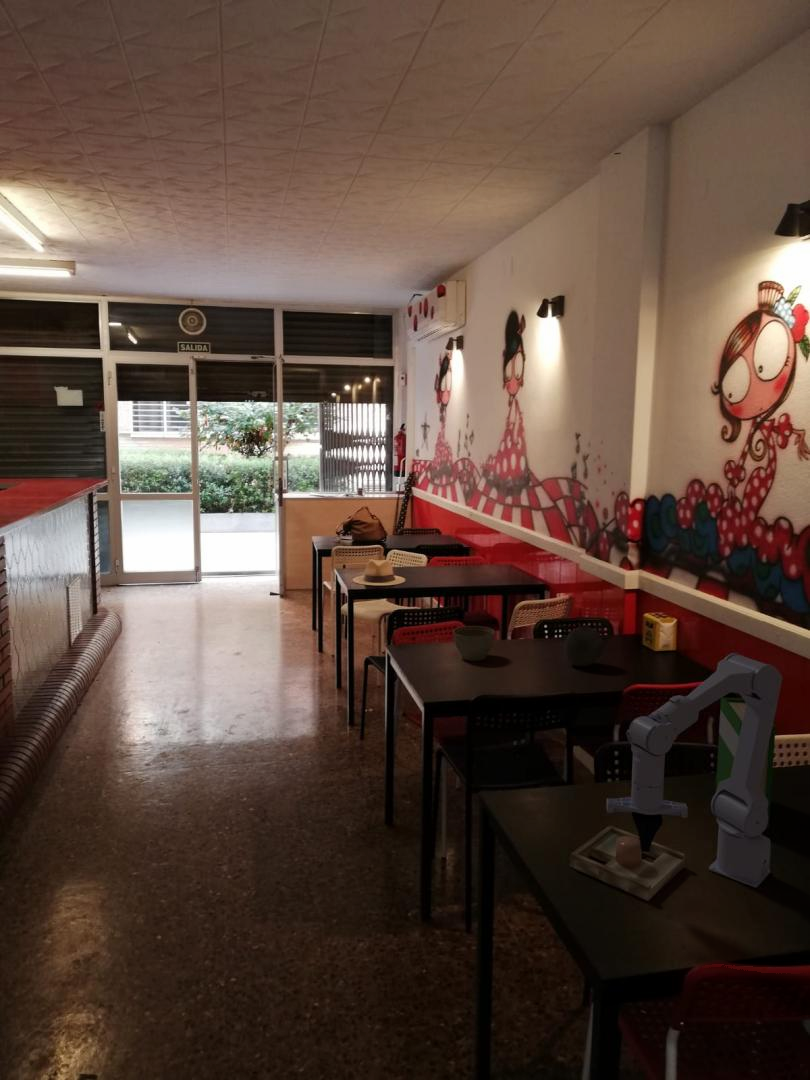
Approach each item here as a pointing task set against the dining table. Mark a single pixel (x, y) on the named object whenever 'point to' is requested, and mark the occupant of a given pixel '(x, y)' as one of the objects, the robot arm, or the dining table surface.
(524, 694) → the dining table surface
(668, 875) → the wooden frame
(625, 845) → the brown rounded lump
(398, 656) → the dining table surface
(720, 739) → the hardback book
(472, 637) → the planter bowl
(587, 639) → the cantaloupe
